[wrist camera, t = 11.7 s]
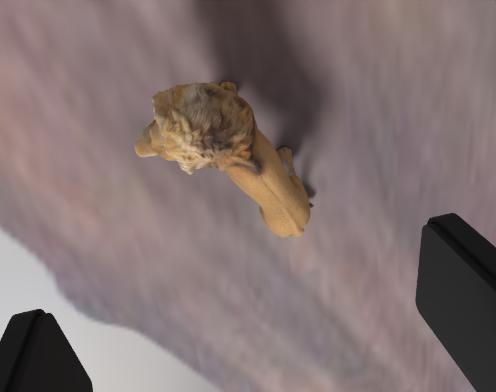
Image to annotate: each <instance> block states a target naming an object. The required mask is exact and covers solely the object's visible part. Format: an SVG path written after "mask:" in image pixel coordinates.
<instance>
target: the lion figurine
mask: <svg viewBox="0 0 496 392" xmlns="http://www.w3.org/2000/svg"><path fill="white" fill-rule="evenodd" d="M151 99H152V101H153V110H154V118H155V120H154V121H153V122H152V124H150V125H149V126H148V127H147V128H144V129H142V130H140V131H139V132H138V135H137V139H136V143H135V150H136V153H137V154H138V155H139V156H141V157H147V156H154V155H157V154H159V155H160V156H161V157H163V158H164V159H166V160H177V161H178V163H179V164H180V166H181V168H182V169H183V170H185V171H186V172H187V173H189V174H190V175H191V174H192V173H193V172H194V170H195V168H197V169H200V168H203V167H211V168H218V169H219V170H220V171H223V170H225V171H226V172H227V174H228V175H229V177H230V178H231V179H232V180H233V181H234V182H235V183H236V184H237V185H238V186H239V187H240V188H241V189H242V190H243V191H244V192H245V193H247V194H248V195H249V196H250V197H252V198H253V199H254V200H255V201H256V202H257V203H258V204H259V205H260V214H261V217H262V218H263V220H264V222H265V224H266V225H267V227H268V228H269V229H270V230H271V231H273V232H274V233H275V234H276V235H278V236H280V237H288V236H294V237H300V236H302V235H303V233H304V227H305V226H306V225H307V223H308V221H309V218H310V208H312V207H313V206H314V205H313V204H311V203H310V202H309V199H308V196H307V193H306V190H305V188H304V186H303V184H302V183H301V181H300V179H299V178H298V177H297V176H296V174H295V171H294V168H293V165H292V152H291V150H290V149H289V148H287V147H282V148H280V149H279V150H278V151H277V152H276V151H275V149H274V147H273V146H272V144H271V143H270V141H269V140H268V139H267V138H266V137H265V136H264V135H263V134H262V133H261V132H260V131H259V130H258V128H257V124H256V121H255V119H254V114H253V110H252V108H251V107H250V106H249V104H248V103H247V102H246V101H245V100H244V99H243V98H241V97H239V96H238V94H237V88H236V86H235V84H234V83H232V82H223V83H221V84H220V86H219V84H217V83H214V82H211V83H200V84H199V83H193V84H191V85H188V84H186V85H177V86H176V87H172V88H170V89H169V90H165V91H164V92H158V93H157V94H156V95H155V96H153V97H152V98H151Z"/></svg>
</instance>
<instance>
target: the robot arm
mask: <svg viewBox="0 0 496 392" xmlns="http://www.w3.org/2000/svg"><path fill="white" fill-rule="evenodd" d="M416 306H417V309H418V311H419V313H420V314H421V316H422V317H423V318H424V320H425V321H426V323H427V324H428V325H429V327H430V328H431V329H432V331H433V332H434V334H435V335H436V336H437V338H438V339H439V340H440V342H441V343H442V345H443V346H444V347H445V349H446V350H447V351H448V353H449V354H450V356H451V357H452V358H453V360H454V361H455V362H456V364H457V365H458V367H459V368H460V369H461V371H462V372H463V373H464V375H465V376H466V378H467V379H468V380H469V382H470V383H471V384H472V386H473V387H474V389H475V390H476V391H477V392H496V247H495V246H493V245H492V244H491V243H490V242H489V241H487V240H486V239H485V238H484V237H483V236H482V235H480V234H479V233H478V232H477V231H476V230H475V229H473V228H472V227H471V226H470V225H469V224H468V223H466V222H465V221H464V220H463V219H462V218H460V217H459V216H458V215H456V214H455V213H450V214H445V215H441V216H437V217H432V218H430V219H429V220H428V223H427V225H424V226H423V229H422V237H421V247H420V258H419V268H418V279H417V289H416ZM0 392H93V388H92V382H91V380H90V378H89V376H88V375H87V373H86V371H85V369H84V368H83V366H82V364H81V363H80V361H79V359H78V357H77V355H76V354H75V352H74V351H73V349H72V347H71V345H70V344H69V342H68V340H67V339H66V337H65V335H64V333H63V331H62V330H61V328H60V326H59V325H58V323H57V321H56V319H55V318H54V316H53V315H52V314H51V313H45V312H44V311H43V310H42V309H37V310H32V311H28V312H23V313H19V314H15V315H13V316H12V318H11V319H10V321H9V323H8V325H7V327H6V330H5V332H4V334H3V336H2V338H1V341H0Z"/></svg>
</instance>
